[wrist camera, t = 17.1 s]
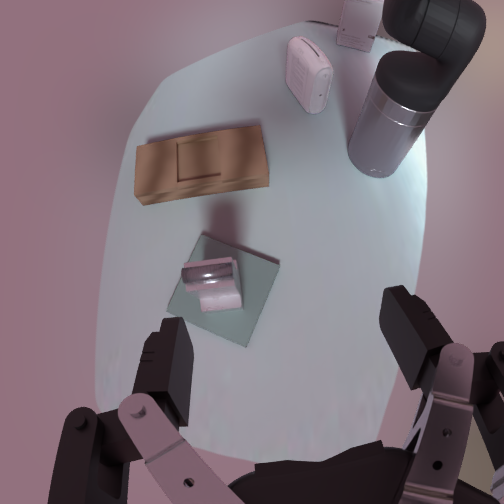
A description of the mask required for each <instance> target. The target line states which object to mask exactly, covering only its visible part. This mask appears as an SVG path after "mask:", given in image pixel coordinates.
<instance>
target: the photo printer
mask: <svg viewBox="0 0 504 504" xmlns="http://www.w3.org/2000/svg"><path fill="white" fill-rule="evenodd" d="M333 73H334V71H333V68H332V65H331V63H330V62H329V60H328V58H327V57H326V55H325V54H324V53H323V52H322V51H321V49H320V48H319V47H318V46H317V45H316V44H314V43H313V42H312V41H310V40H309V39H307V38H305V37H303V36H299V37H293V38H292V39H291V40H290V41H289V43H288V50H287V66H286V83H287V85H288V87H289V89H290V90H291V91H292V93H293V94H294V96H295V97H296V99H297V100H298V101H299V103H300V104H301V106H302V107H303V108H304V109H305V111H306V112H308V113H311V114H318V113H320V112H322V110H323V109H325V107H326V103H327V99H328V95H329V91H330V86H331V82H332V78H333Z"/></svg>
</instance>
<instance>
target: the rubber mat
mask: <svg viewBox="0 0 504 504" xmlns="http://www.w3.org/2000/svg"><path fill="white" fill-rule="evenodd" d="M226 257H232V259H233V260H236V261H237V264H238V266H239V274H240V283H241V291H242V299H243V307H244V310H240V311H231V312H223V313H214V314H205V313H203V312H201V305H200V299H198V298H196V297H195V296H193V295H191V294H190V293H188V292H186V284H184V283H183V280H182V277H181V279H180V282H179V284H178V286H177V288H176V290H175V293H174V295H173V297H172V299H171V302H170V304H169V306H168V308H167V312H169V313H171V314H173V315H175V316H177V317H183V319H184V320H185V321H187V322H190V323H192V324H194V325H196V326H198V327H200V328H203V329H205V330H207V331H209V332H212V333H214V334H216V335H218V336H221V337H223V338H225V339H227V340H230V341H232V342H234V343H237V344H239V345H242V346H244V347H247V344H248V342H249V340H250V337H251V335H252V333H253V330H254V328H255V325H256V323H257V321H258V318H259V316H260V314H261V311H262V309H263V306H264V304H265V302H266V299H267V297H268V294H269V292H270V290H271V287H272V285H273V282H274V280H275V277H276V275H277V273H278V270H279V268H280V265H277V264H275V263H272V262H270V261H267V260H265V259H262V258H260V257H257V256H255V255H252V254H250V253H247V252H244V251H242V250H239V249H237V248H234V247H232V246H229V245H227V244H224V243H222V242H219V241H217V240H214V239H212V238H209V237H207V236H204V235H201V236H200V239H199V241H198V243H197V245H196V247H195V249H194V251H193V253H192V255H191V258H190V260H189V262H195V261H203V260H211V259H218V258H226Z"/></svg>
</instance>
